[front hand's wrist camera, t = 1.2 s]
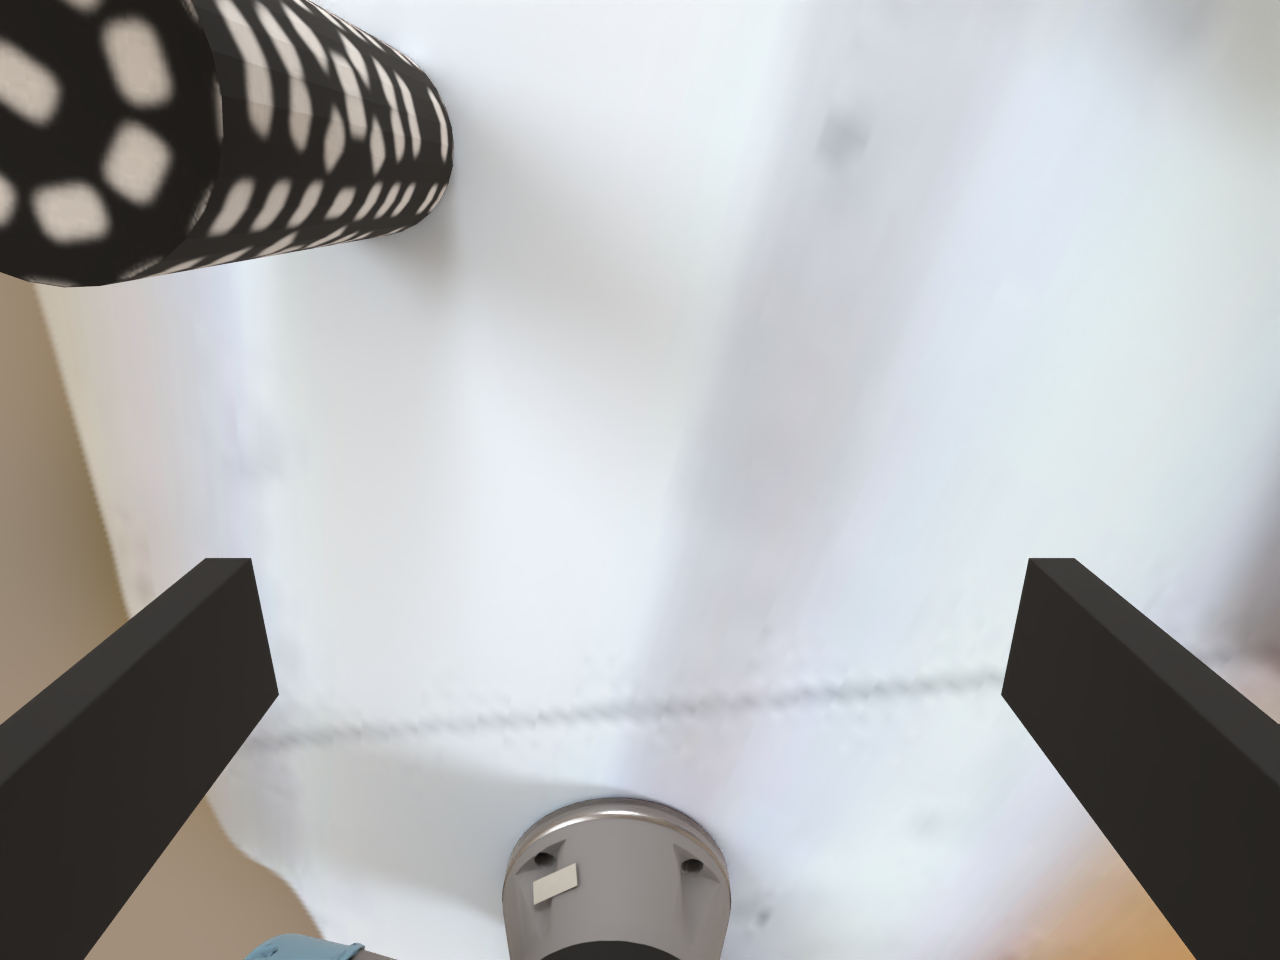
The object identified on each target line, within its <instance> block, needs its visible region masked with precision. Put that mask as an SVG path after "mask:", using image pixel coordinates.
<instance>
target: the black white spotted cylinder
mask: <svg viewBox="0 0 1280 960" xmlns="http://www.w3.org/2000/svg"><path fill="white" fill-rule="evenodd" d="M453 153H454V144H453V135H452V127H451V124H450V120H449V117H448V114H447V110H446V107H445V105H444V103H443V101H442V99H441V97H440V95H439V93H438V91H437V89H436V88H435V87H434V85H433V84H432V82H431V81H430V80H429V78H428V77H427V76H426V74H425V73H424V72H423V71H422V70H421V69H420V68H419V67H418V66H417V65H416V64H415V63H414V62H413V61H412V60H411V59H410V58H408V57H407V56H405V55H403V54H402V53H400V52H399V51H397V50H396V49H394V48H393V47H391V46H389V45H387V44H386V43H384V42H382V41H380V40H379V39H377V38H375V37H373V36H371V35H370V34H368V33H366V32H364V31H362V30H361V29H359V28H357V27H355V26H354V25H352V24H350V23H348V22H346V21H345V20H343V19H341V18H339V17H337V16H336V15H334V14H332V13H330V12H329V11H327V10H325V9H323V8H321V7H320V6H318V5H316V4H314V3H312V2H311V1H309V0H0V272H2V273H5V274H8V275H11V276H13V277H16V278H19V279H22V280H25V281H28V282H34V283H40V284H47V285H53V286H59V287H86V286H102V285H108V284H114V283H119V282H125V281H131V280H136V279H142V278H148V277H153V276H159V275H165V274H170V273H176V272H182V271H187V270H193V269H199V268H204V267H210V266H216V265H221V264H227V263H233V262H238V261H244V260H250V259H255V258H261V257H267V256H272V255H278V254H284V253H289V252H295V251H301V250H306V249H312V248H318V247H323V246H329V245H335V244H340V243H346V242H352V241H357V240H363V239H369V238H374V237H380V236H386V235H390V234H394V233H398V232H401V231H404V230H406V229H408V228H410V227H412V226H414V225H416V224H417V223H419V222H420V221H421V220H422V219H423V218H425V217H426V216H427V215H428V214H429V213H430V212H431V211H432V210H433V209H434V207H435V206H436V205H437V203H438V202H439V201H440V199H441V197H442V195H443V193H444V191H445V189H446V187H447V185H448V182H449V178H450V174H451V170H452V167H453Z"/></svg>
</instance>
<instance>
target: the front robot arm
mask: <svg viewBox="0 0 1280 960" xmlns="http://www.w3.org/2000/svg"><path fill="white" fill-rule="evenodd" d="M278 695H279V693H278V688H277V683H276V678H275V673H274V668H273V664H272V659H271V654H270V649H269V644H268V639H267V634H266V629H265V624H264V619H263V615H262V610H261V605H260V600H259V595H258V590H257V585H256V580H255V575H254V570H253V565H252V561H251V558H205V559H204V560H203V561H202V562H200V563H199V564H198V565H197V566H195V567H194V568H193V569H192V570H191V571H189V572H188V573H187V574H186V575H184V576H183V577H182V578H181V579H179V580H178V581H177V582H176V583H175V584H173V585H172V586H171V587H170V588H168V589H167V590H166V591H165V592H163V593H162V594H161V595H160V596H159V597H157V598H156V599H155V600H154V601H152V602H151V603H150V604H149V605H147V606H146V607H145V608H144V609H143V610H141V611H140V612H139V613H138V614H136V615H135V616H134V617H133V618H131V619H130V620H129V621H128V622H127V623H125V624H124V625H123V626H122V627H120V628H119V629H118V630H117V631H115V632H114V633H113V634H112V635H111V636H109V637H108V638H107V639H106V640H104V641H103V642H102V643H101V644H100V645H98V646H97V647H96V648H95V649H93V650H92V651H91V652H90V653H88V654H87V655H86V656H85V657H84V658H82V659H81V660H80V661H79V662H77V663H76V664H75V665H74V666H73V667H71V668H70V669H69V670H68V671H66V672H65V673H64V674H63V675H61V676H60V677H59V678H58V679H56V680H55V681H54V682H53V683H52V684H50V685H49V686H48V687H47V688H45V689H44V690H43V691H42V692H40V693H39V694H38V695H37V696H36V697H34V698H33V699H32V700H31V701H29V702H28V703H27V704H26V705H25V706H23V707H22V708H21V709H20V710H18V711H17V712H16V713H15V714H13V715H12V716H11V717H10V718H9V719H7V720H6V721H5V722H4V723H2V724H1V725H0V960H84V958H85V957H86V956H87V954H88V953H89V952H90V950H91V949H92V948H93V946H94V945H95V944H96V942H97V941H98V939H99V938H100V937H101V935H102V934H103V933H104V931H105V930H106V929H107V927H108V926H109V924H110V923H111V922H112V920H113V919H114V918H115V916H116V915H117V914H118V912H119V911H120V910H121V908H122V907H123V906H124V904H125V903H126V901H127V900H128V899H129V897H130V896H131V895H132V893H133V892H134V891H135V889H136V888H137V887H138V885H139V884H140V882H141V881H142V880H143V878H144V877H145V876H146V874H147V873H148V872H149V870H150V869H151V867H152V866H153V865H154V863H155V862H156V861H157V859H158V858H159V857H160V855H161V854H162V853H163V851H164V850H165V849H166V847H167V846H168V845H169V843H170V842H171V840H172V839H173V838H174V836H175V835H176V834H177V832H178V831H179V830H180V828H181V827H182V826H183V824H184V823H185V821H186V820H187V819H188V817H189V816H190V815H191V813H192V812H193V811H194V809H195V808H196V807H197V805H198V804H199V802H200V801H201V800H202V798H203V797H204V796H205V794H206V793H207V792H208V790H209V789H210V788H211V786H212V785H213V783H214V782H215V781H216V779H217V778H218V777H219V775H220V774H221V773H222V771H223V770H224V769H225V767H226V766H227V764H228V763H229V762H230V760H231V759H232V758H233V756H234V755H235V754H236V752H237V751H238V750H239V748H240V747H241V745H242V744H243V743H244V741H245V740H246V739H247V737H248V736H249V735H250V733H251V732H252V731H253V729H254V728H255V726H256V725H257V724H258V722H259V721H260V720H261V718H262V717H263V716H264V714H265V713H266V712H267V710H268V709H269V708H270V706H271V705H272V703H273V702H274V701H275V699H276V698H277V697H278ZM1001 695H1002V697H1003V698H1004V699H1005V701H1006V702H1007V703H1008V705H1009V706H1010V708H1011V709H1012V710H1013V712H1014V713H1015V714H1016V716H1017V717H1018V718H1019V720H1020V721H1021V722H1022V724H1023V725H1024V726H1025V728H1026V729H1027V731H1028V732H1029V733H1030V735H1031V736H1032V737H1033V739H1034V740H1035V741H1036V743H1037V744H1038V745H1039V747H1040V748H1041V750H1042V751H1043V752H1044V754H1045V755H1046V756H1047V758H1048V759H1049V760H1050V762H1051V763H1052V764H1053V766H1054V767H1055V769H1056V770H1057V771H1058V773H1059V774H1060V775H1061V777H1062V778H1063V779H1064V781H1065V782H1066V783H1067V785H1068V786H1069V788H1070V789H1071V790H1072V792H1073V793H1074V794H1075V796H1076V797H1077V798H1078V800H1079V801H1080V802H1081V804H1082V805H1083V807H1084V808H1085V809H1086V811H1087V812H1088V813H1089V815H1090V816H1091V817H1092V819H1093V820H1094V821H1095V823H1096V824H1097V826H1098V827H1099V828H1100V830H1101V831H1102V832H1103V834H1104V835H1105V836H1106V838H1107V839H1108V840H1109V842H1110V843H1111V845H1112V846H1113V847H1114V849H1115V850H1116V851H1117V853H1118V854H1119V855H1120V857H1121V858H1122V859H1123V861H1124V862H1125V863H1126V865H1127V866H1128V868H1129V869H1130V870H1131V872H1132V873H1133V874H1134V876H1135V877H1136V878H1137V880H1138V881H1139V882H1140V884H1141V885H1142V887H1143V888H1144V889H1145V891H1146V892H1147V893H1148V895H1149V896H1150V897H1151V899H1152V900H1153V901H1154V903H1155V904H1156V906H1157V907H1158V908H1159V910H1160V911H1161V912H1162V914H1163V915H1164V916H1165V918H1166V919H1167V920H1168V922H1169V923H1170V925H1171V926H1172V927H1173V929H1174V930H1175V931H1176V933H1177V934H1178V935H1179V937H1180V938H1181V939H1182V941H1183V942H1184V944H1185V945H1186V946H1187V948H1188V949H1189V950H1190V952H1191V953H1192V954H1193V956H1194V957H1195V958H1196V960H1280V724H1278V723H1276V722H1275V721H1274V720H1273V719H1271V718H1270V717H1269V716H1268V715H1267V714H1265V713H1264V712H1263V711H1262V710H1260V709H1259V708H1258V707H1257V706H1255V705H1254V704H1253V703H1252V702H1251V701H1249V700H1248V699H1247V698H1246V697H1244V696H1243V695H1242V694H1241V693H1240V692H1238V691H1237V690H1236V689H1235V688H1233V687H1232V686H1231V685H1230V684H1228V683H1227V682H1226V681H1225V680H1224V679H1222V678H1221V677H1220V676H1219V675H1217V674H1216V673H1215V672H1214V671H1212V670H1211V669H1210V668H1209V667H1208V666H1206V665H1205V664H1204V663H1203V662H1201V661H1200V660H1199V659H1198V658H1196V657H1195V656H1194V655H1193V654H1192V653H1190V652H1189V651H1188V650H1187V649H1185V648H1184V647H1183V646H1182V645H1180V644H1179V643H1178V642H1177V641H1176V640H1174V639H1173V638H1172V637H1171V636H1169V635H1168V634H1167V633H1166V632H1165V631H1163V630H1162V629H1161V628H1160V627H1158V626H1157V625H1156V624H1155V623H1153V622H1152V621H1151V620H1150V619H1149V618H1147V617H1146V616H1145V615H1144V614H1142V613H1141V612H1140V611H1139V610H1137V609H1136V608H1135V607H1134V606H1133V605H1131V604H1130V603H1129V602H1128V601H1126V600H1125V599H1124V598H1123V597H1121V596H1120V595H1119V594H1118V593H1117V592H1115V591H1114V590H1113V589H1112V588H1110V587H1109V586H1108V585H1107V584H1105V583H1104V582H1103V581H1102V580H1101V579H1099V578H1098V577H1097V576H1096V575H1094V574H1093V573H1092V572H1091V571H1089V570H1088V569H1087V568H1086V567H1085V566H1083V565H1082V564H1081V563H1080V562H1078V561H1077V560H1076V559H1075V558H1029V561H1028V565H1027V570H1026V575H1025V580H1024V585H1023V590H1022V595H1021V600H1020V605H1019V610H1018V615H1017V619H1016V624H1015V629H1014V634H1013V639H1012V644H1011V649H1010V654H1009V659H1008V664H1007V668H1006V673H1005V678H1004V683H1003V688H1002V693H1001ZM502 901H503V914H504V921H505V928H506V934H507V941H508V948H509V954H510V960H720V956H721V952H722V947H723V943H724V939H725V935H726V930H727V926H728V922H729V915H730V910H731V893H730V885H729V876H728V870H727V865H726V862H725V859H724V856H723V854H722V852H721V850H720V848H719V847H718V845H717V844H716V842H715V841H714V840H713V838H712V837H711V836H710V835H709V834H708V833H707V832H706V831H705V830H704V829H703V828H702V827H701V826H699V825H698V824H697V823H696V822H694V821H693V820H691V819H690V818H688V817H687V816H685V815H683V814H681V813H679V812H677V811H675V810H673V809H671V808H668V807H666V806H663V805H659V804H656V803H653V802H648V801H644V800H638V799H630V798H601V799H593V800H587V801H582V802H578V803H575V804H571V805H568V806H565V807H563V808H561V809H558V810H556V811H554V812H552V813H550V814H548V815H547V816H545V817H543V818H542V819H540V820H539V821H538V822H536V823H535V824H534V825H533V826H531V827H530V828H529V829H528V830H527V831H526V832H525V833H524V835H523V836H522V837H521V838H520V839H519V841H518V842H517V844H516V846H515V847H514V849H513V851H512V854H511V856H510V859H509V862H508V867H507V872H506V876H505V881H504V887H503V895H502ZM364 949H365V946H364V945H362V944H360V943H353V944H352V945H350V946H348V945H343V944H339V943H335V942H331V941H326V940H322V939H318V938H313V937H309V936H305V935H300V934H282V935H279V936H276V937H273V938H271V939H269V940H267V941H266V942H264V943H262V944H261V945H259V946H258V947H257V948H256V949H254V950H253V951H252V952H251V953H250V954H249V955H248V956H247V957H246V958H245V959H244V960H396V959H392V958H389V957H386V956H382V955H379V954H376V953H372V952H369V951H366V950H364Z"/></svg>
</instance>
